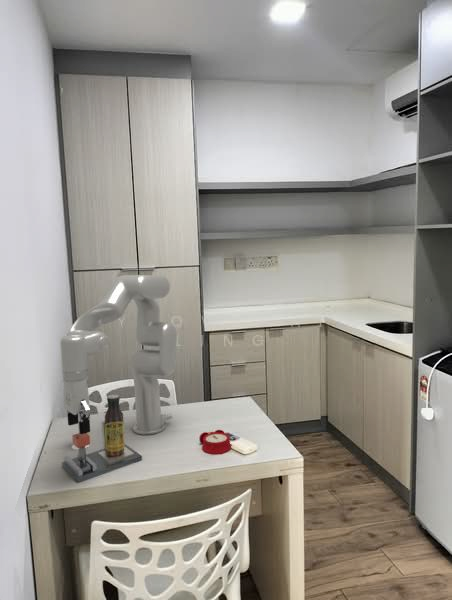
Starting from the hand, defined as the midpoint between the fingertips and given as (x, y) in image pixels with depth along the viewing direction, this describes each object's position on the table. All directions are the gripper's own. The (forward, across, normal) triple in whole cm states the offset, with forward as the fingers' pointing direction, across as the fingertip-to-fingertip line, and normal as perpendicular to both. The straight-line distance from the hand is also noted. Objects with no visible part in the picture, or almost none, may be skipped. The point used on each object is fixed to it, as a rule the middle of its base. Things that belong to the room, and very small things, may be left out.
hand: (79, 428), depth 147 cm
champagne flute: (+15, -22, +8) cm, 28 cm away
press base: (+15, -3, +8) cm, 18 cm away
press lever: (+14, 0, +1) cm, 14 cm away
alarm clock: (+15, +12, +44) cm, 48 cm away
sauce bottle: (+13, -4, +13) cm, 19 cm away
